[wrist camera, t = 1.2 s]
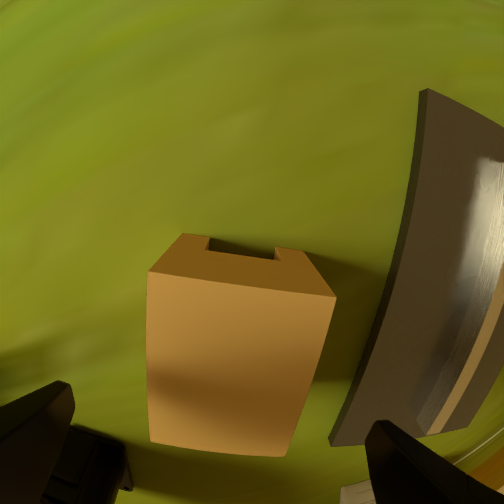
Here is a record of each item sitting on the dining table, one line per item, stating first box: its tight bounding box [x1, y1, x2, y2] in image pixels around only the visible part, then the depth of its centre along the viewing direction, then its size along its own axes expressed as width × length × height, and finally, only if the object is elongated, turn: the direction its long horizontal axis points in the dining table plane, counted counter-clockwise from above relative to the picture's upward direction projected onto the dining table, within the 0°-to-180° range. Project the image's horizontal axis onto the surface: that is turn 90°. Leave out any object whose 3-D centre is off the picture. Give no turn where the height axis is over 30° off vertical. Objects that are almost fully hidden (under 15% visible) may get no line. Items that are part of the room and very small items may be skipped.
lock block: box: [146, 233, 337, 457], centre depth 12 cm, size 7×5×5 cm
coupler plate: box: [328, 88, 504, 447], centre depth 13 cm, size 20×12×2 cm, turn 171°
